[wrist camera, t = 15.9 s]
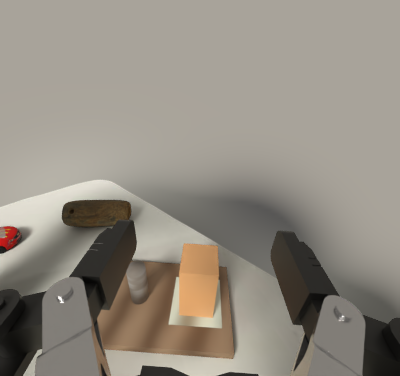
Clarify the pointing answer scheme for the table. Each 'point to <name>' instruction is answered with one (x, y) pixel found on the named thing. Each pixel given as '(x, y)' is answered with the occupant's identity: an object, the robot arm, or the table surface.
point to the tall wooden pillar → (198, 280)
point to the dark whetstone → (95, 212)
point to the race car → (8, 238)
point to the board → (164, 316)
